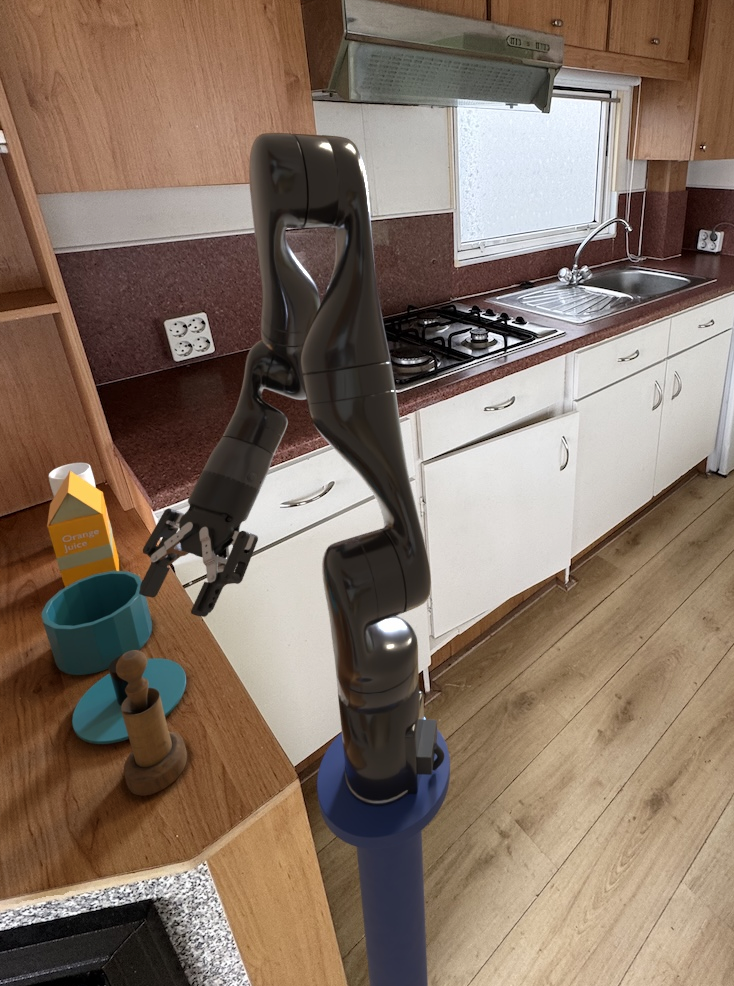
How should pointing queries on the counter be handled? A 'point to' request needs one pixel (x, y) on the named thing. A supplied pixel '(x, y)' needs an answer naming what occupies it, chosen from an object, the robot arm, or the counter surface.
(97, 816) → the counter surface
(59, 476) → the drinking glass
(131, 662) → the mortar and pestle
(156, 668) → the lid
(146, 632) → the pot
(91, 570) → the orange juice
